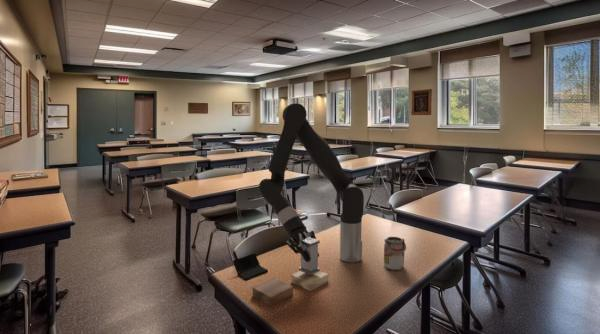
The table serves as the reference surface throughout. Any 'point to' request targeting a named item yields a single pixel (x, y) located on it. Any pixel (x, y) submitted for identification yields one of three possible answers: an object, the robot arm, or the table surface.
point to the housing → (312, 251)
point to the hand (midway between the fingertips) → (313, 258)
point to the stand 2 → (309, 279)
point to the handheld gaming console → (248, 267)
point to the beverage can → (394, 253)
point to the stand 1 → (272, 291)
